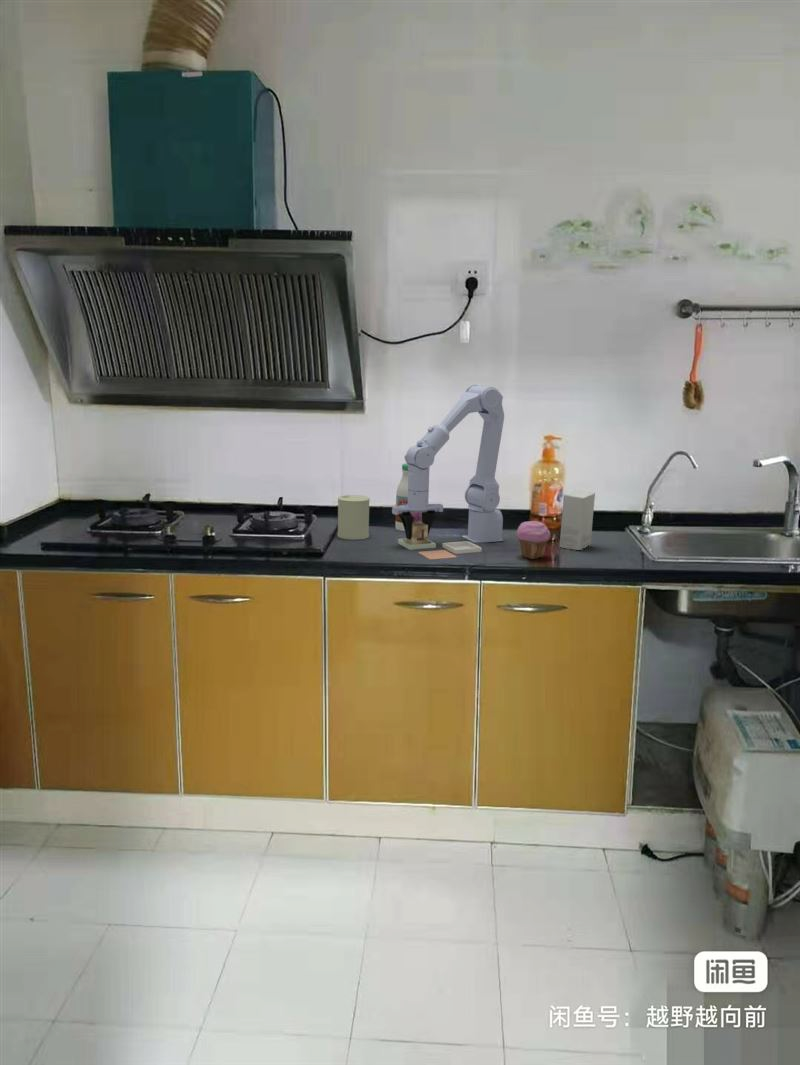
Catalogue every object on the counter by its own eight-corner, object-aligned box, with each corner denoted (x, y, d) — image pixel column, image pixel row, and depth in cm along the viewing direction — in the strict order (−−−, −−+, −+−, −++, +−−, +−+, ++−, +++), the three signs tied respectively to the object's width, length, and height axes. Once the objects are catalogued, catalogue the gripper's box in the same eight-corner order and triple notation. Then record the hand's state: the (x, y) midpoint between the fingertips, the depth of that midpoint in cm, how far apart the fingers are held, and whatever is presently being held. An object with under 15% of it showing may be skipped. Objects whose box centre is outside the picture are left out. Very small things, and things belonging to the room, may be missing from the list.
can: (347, 532, 256) (348, 492, 254) (374, 536, 252) (375, 495, 249) (331, 538, 248) (331, 497, 246) (359, 542, 244) (359, 500, 241)
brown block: (420, 542, 243) (421, 522, 242) (427, 546, 239) (428, 525, 238) (406, 543, 242) (406, 522, 240) (412, 547, 238) (413, 526, 236)
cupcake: (532, 563, 226) (534, 525, 224) (508, 556, 233) (510, 519, 231) (555, 558, 232) (557, 521, 230) (531, 551, 238) (533, 516, 236)
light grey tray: (468, 546, 243) (468, 541, 242) (481, 553, 235) (481, 547, 235) (442, 548, 239) (442, 543, 239) (455, 555, 232) (455, 549, 232)
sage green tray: (423, 542, 246) (424, 537, 246) (435, 548, 239) (435, 543, 238) (397, 544, 243) (398, 539, 242) (409, 550, 236) (409, 545, 235)
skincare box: (571, 542, 250) (574, 489, 246) (592, 546, 246) (596, 492, 243) (558, 548, 243) (562, 493, 240) (580, 552, 239) (584, 496, 236)
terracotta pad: (444, 551, 236) (444, 549, 236) (457, 558, 229) (457, 556, 229) (417, 553, 233) (417, 551, 233) (430, 561, 226) (430, 559, 226)
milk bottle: (394, 527, 264) (395, 462, 260) (419, 527, 265) (421, 462, 261) (396, 532, 257) (398, 466, 252) (422, 532, 258) (424, 466, 253)
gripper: (436, 486, 244) (434, 533, 247) (388, 488, 238) (387, 536, 241) (447, 490, 237) (445, 538, 240) (398, 493, 232) (397, 542, 235)
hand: (416, 538), depth 240 cm, fingers closed on brown block, 4 cm apart
